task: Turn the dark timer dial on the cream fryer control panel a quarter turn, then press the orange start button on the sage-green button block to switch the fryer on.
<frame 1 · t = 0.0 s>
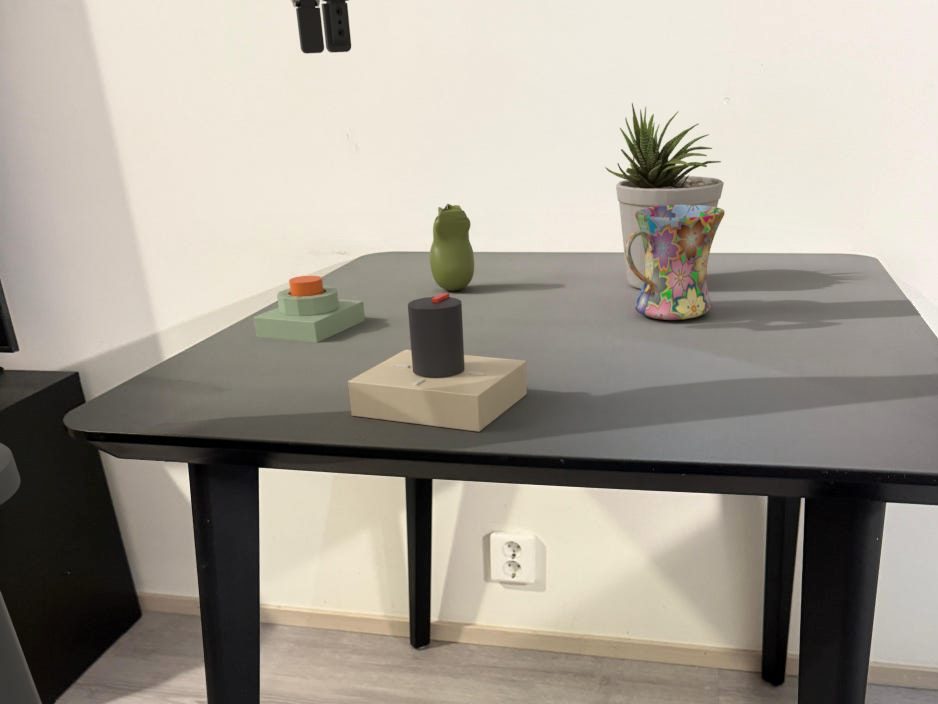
hand: (325, 52, 88), 26 cm above the table, tool pointing down, fingers open, 8 cm apart
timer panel: (440, 405, 80), on the table
start button: (306, 287, 101), point 4 cm above the table, slide at 0.1 cm
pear: (454, 291, 118), on the table
button block: (312, 328, 104), on the table
dial: (436, 335, 77), point 6 cm above the table, hinge at 0.0°
mug: (663, 318, 103), on the table
potted plant: (658, 285, 117), on the table
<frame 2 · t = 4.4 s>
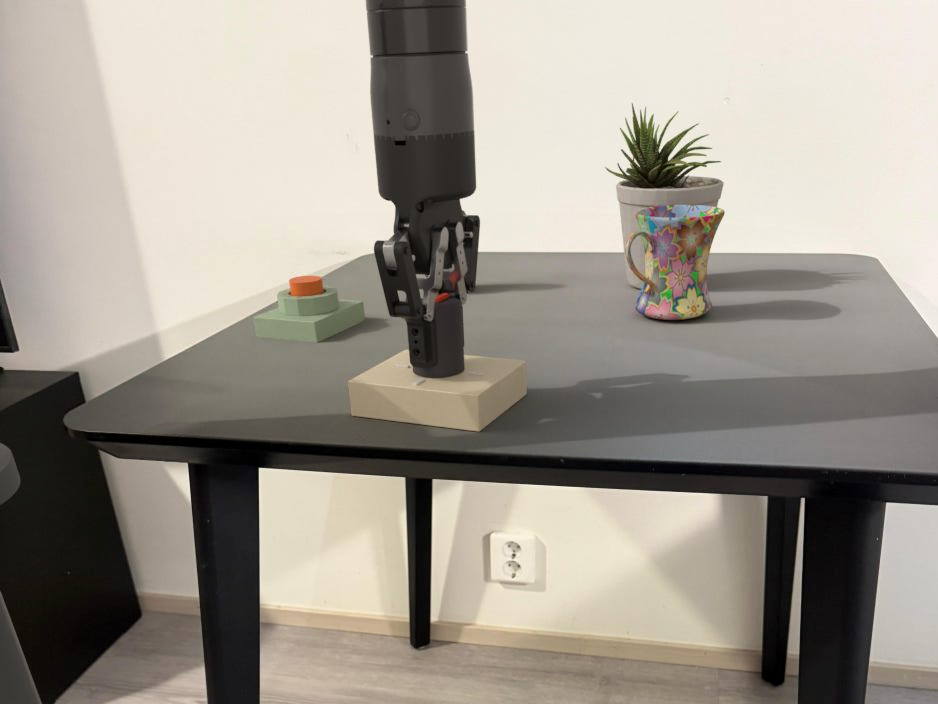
hand: (437, 357, 78), 4 cm above the table, tool pointing down, fingers closed on dial, 4 cm apart
dial: (436, 335, 77), point 6 cm above the table, hinge at 0.1°, touching gripper
everything else where it was.
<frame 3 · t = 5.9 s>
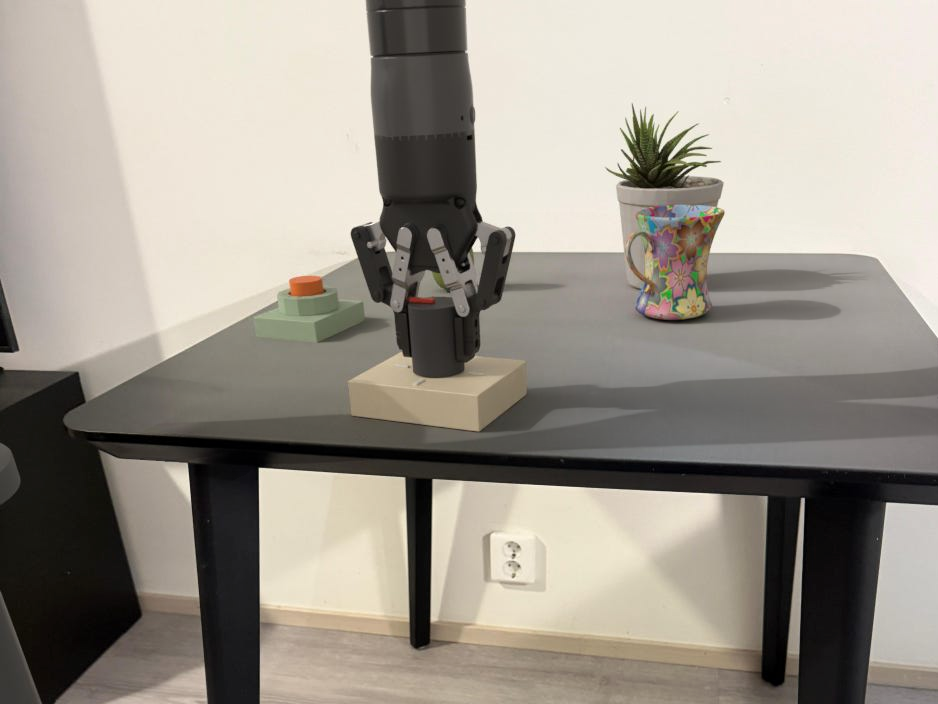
hand: (439, 356, 78), 4 cm above the table, tool pointing down, fingers closed on dial, 4 cm apart
dial: (436, 335, 77), point 6 cm above the table, hinge at 93.6°, touching gripper
everything else where it was.
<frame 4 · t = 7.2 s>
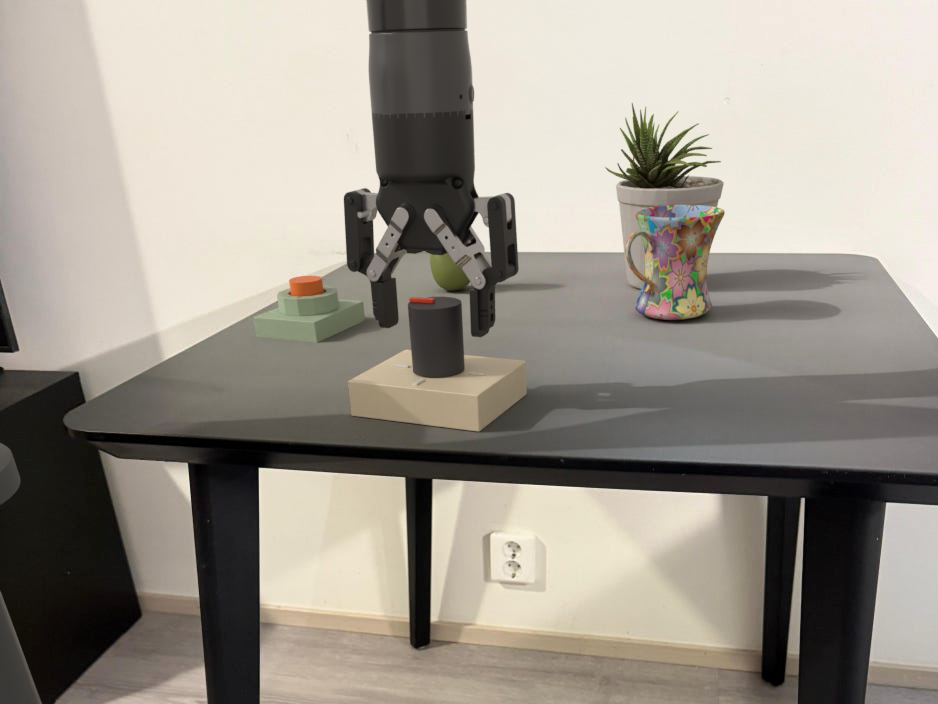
hand: (434, 330, 77), 6 cm above the table, tool pointing down, fingers open, 8 cm apart
dial: (436, 335, 77), point 6 cm above the table, hinge at 93.7°
everything else where it was.
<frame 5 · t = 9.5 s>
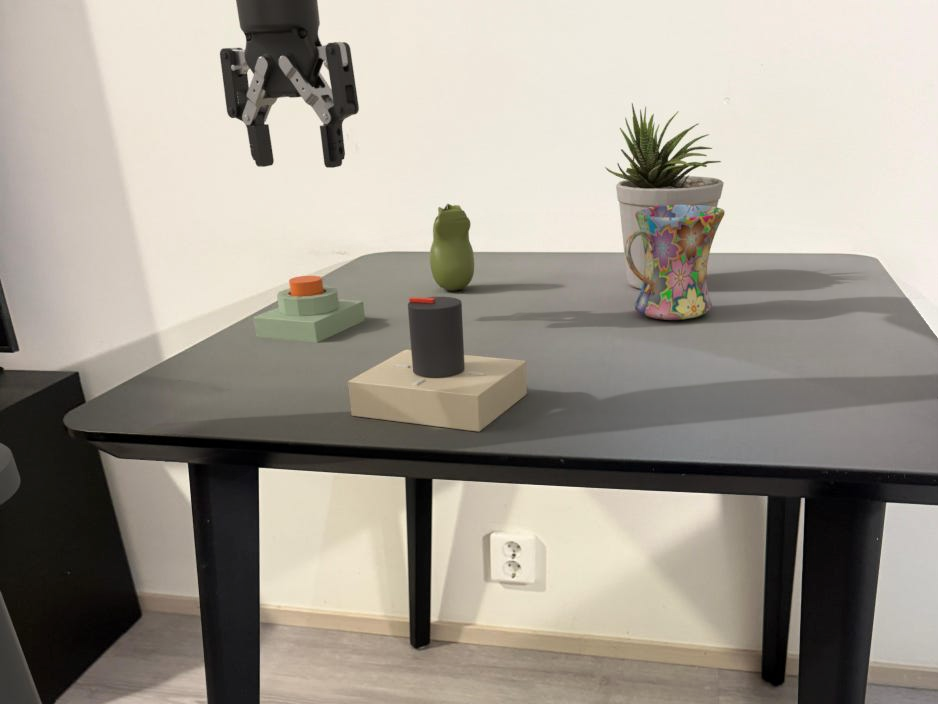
hand: (299, 166, 94), 16 cm above the table, tool pointing down, fingers open, 8 cm apart
nothing on the table moved.
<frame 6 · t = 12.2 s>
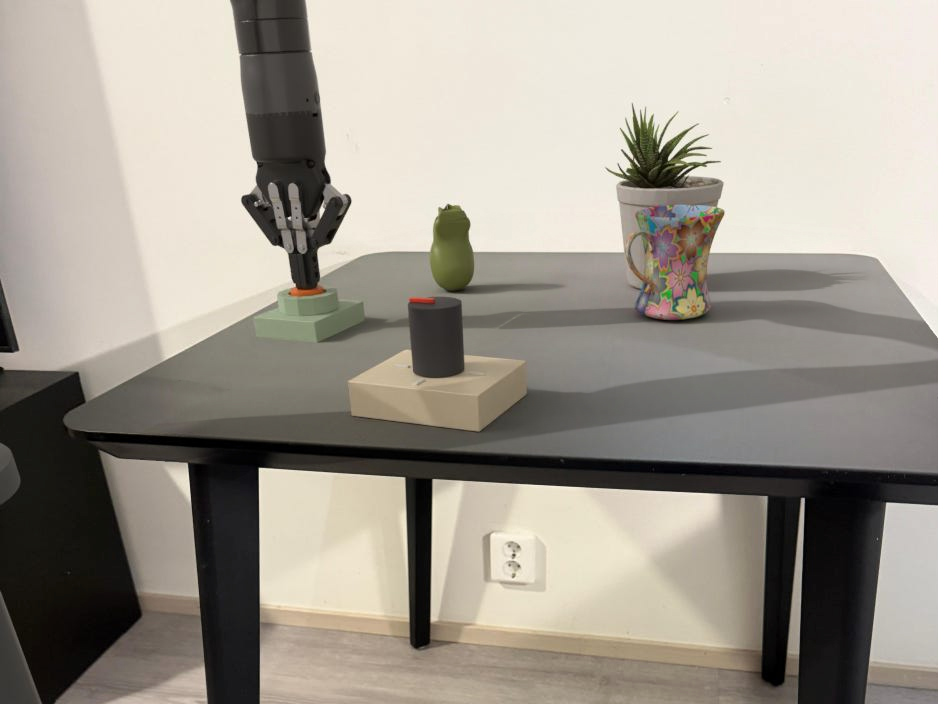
hand: (307, 287, 101), 4 cm above the table, tool pointing down, fingers closed
start button: (307, 296, 102), point 4 cm above the table, slide at -0.9 cm, touching gripper
everything else where it was.
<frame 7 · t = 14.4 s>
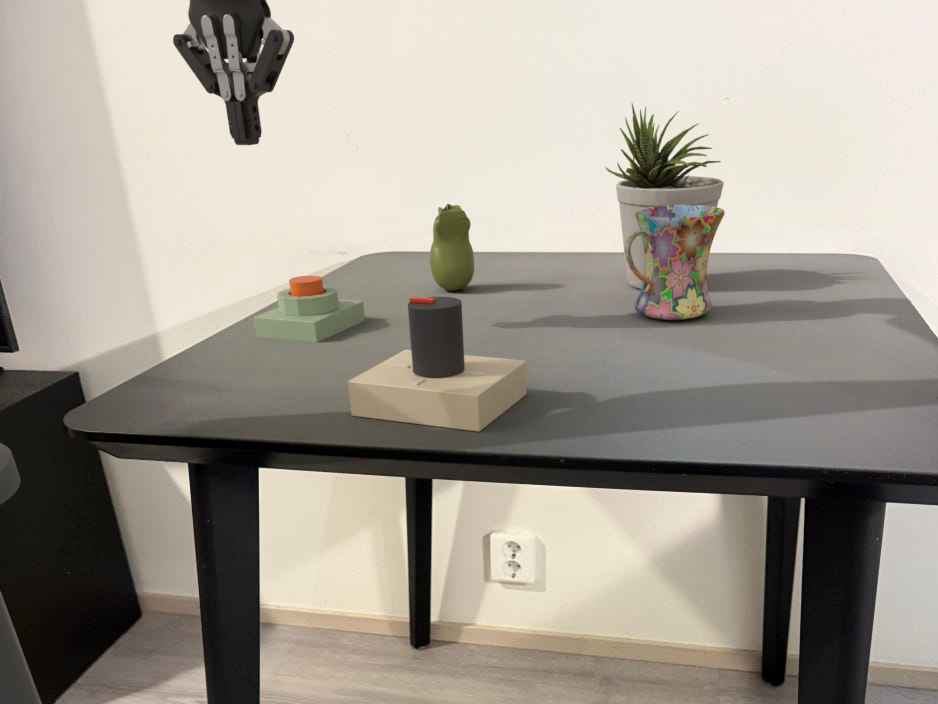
hand: (247, 144, 92), 19 cm above the table, tool pointing down, fingers closed
start button: (306, 287, 101), point 4 cm above the table, slide at 0.1 cm
everything else where it was.
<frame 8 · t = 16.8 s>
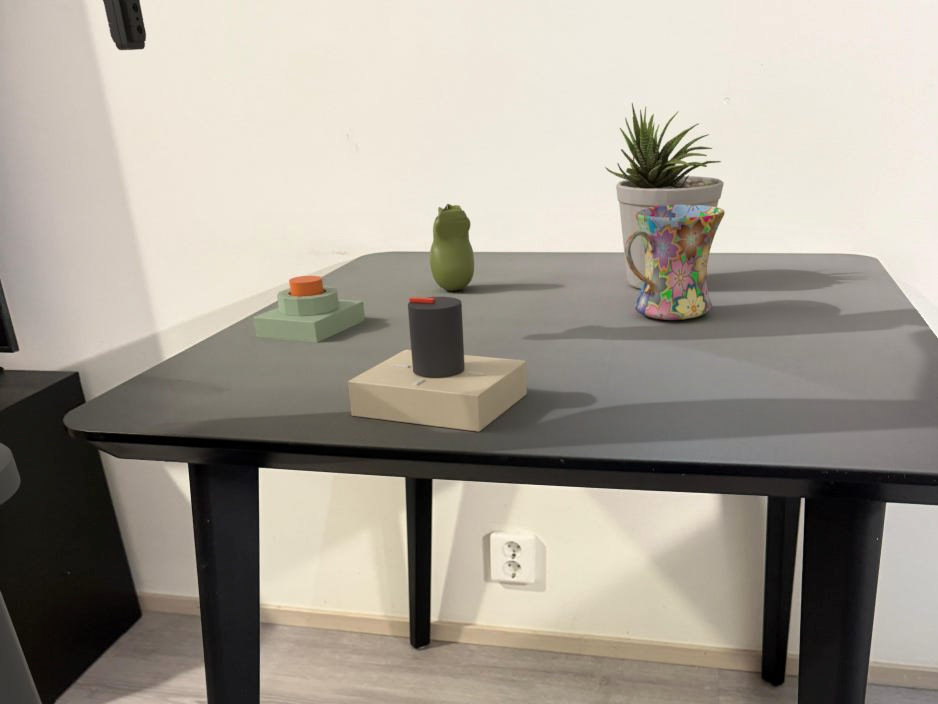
hand: (131, 49, 83), 27 cm above the table, tool pointing down, fingers closed
nothing on the table moved.
at the end: dial at +94° (first picture: +0°); start button pushed in 1.1 cm at the most during the clip, back to where it started at the end; start button slide at 0.1 cm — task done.
